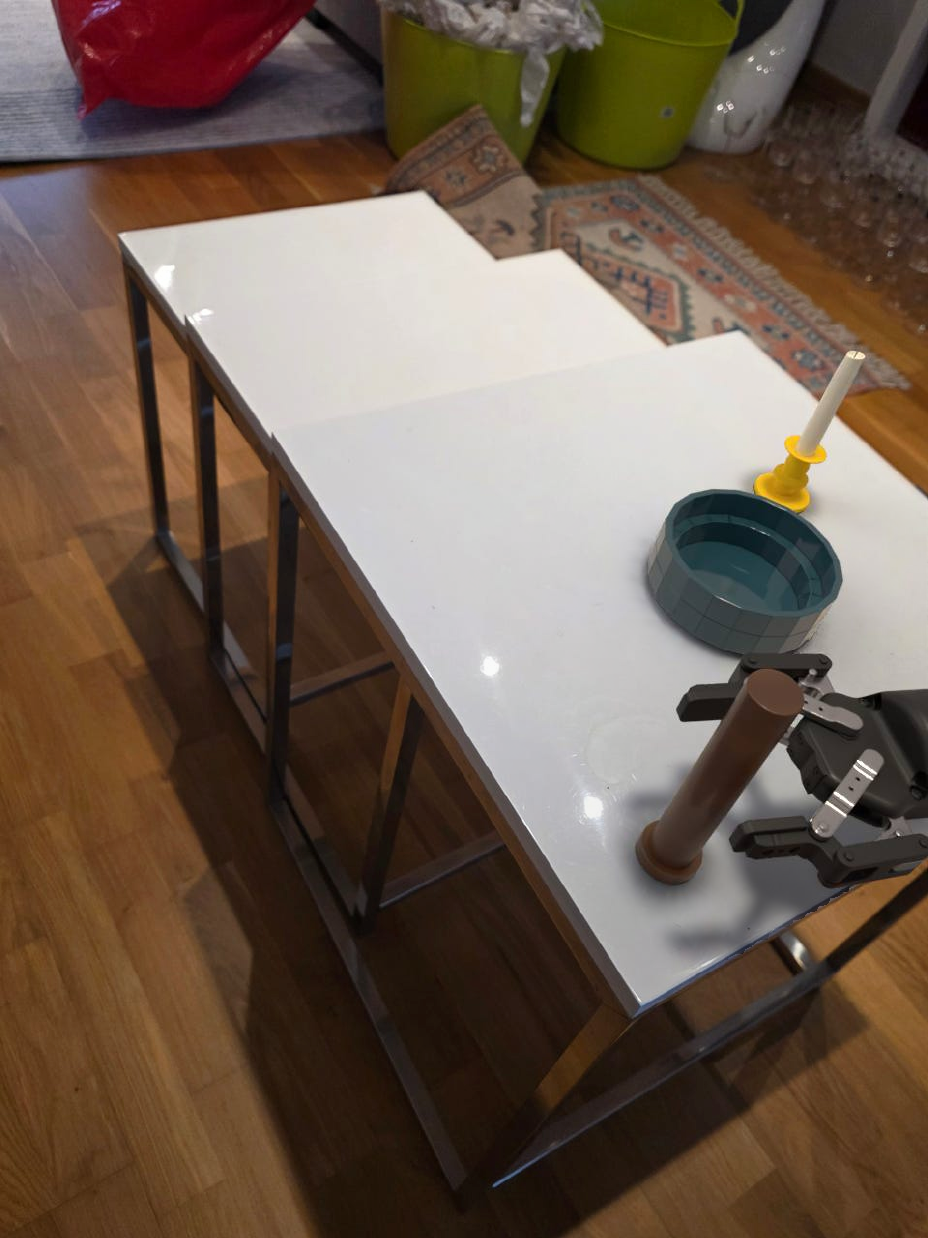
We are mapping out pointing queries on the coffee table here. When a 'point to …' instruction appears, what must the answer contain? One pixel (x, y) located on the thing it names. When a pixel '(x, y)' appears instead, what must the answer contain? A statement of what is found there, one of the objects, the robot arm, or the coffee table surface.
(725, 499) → the bowl
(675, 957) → the coffee table surface
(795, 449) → the candle
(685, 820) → the rod
